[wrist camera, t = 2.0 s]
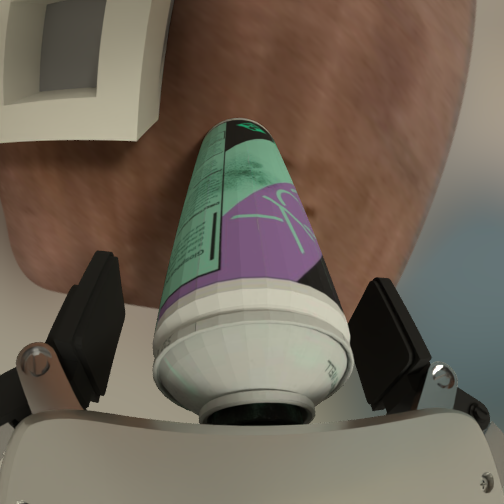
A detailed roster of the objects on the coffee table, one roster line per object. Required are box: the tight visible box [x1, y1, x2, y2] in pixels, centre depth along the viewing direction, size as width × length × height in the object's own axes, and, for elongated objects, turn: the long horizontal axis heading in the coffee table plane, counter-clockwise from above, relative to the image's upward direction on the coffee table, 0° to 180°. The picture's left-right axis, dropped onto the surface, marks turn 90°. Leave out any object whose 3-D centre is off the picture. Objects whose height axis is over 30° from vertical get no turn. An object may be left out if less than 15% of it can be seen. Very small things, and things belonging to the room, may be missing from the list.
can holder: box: [0, 0, 174, 143], centre depth 13 cm, size 12×12×6 cm
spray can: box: [153, 118, 354, 426], centre depth 14 cm, size 6×6×20 cm
